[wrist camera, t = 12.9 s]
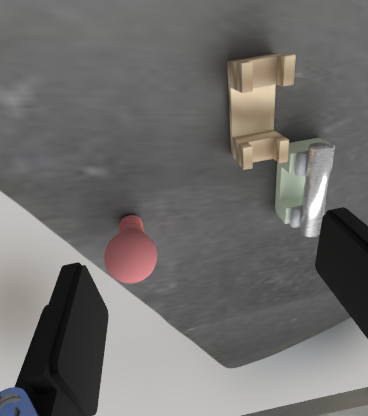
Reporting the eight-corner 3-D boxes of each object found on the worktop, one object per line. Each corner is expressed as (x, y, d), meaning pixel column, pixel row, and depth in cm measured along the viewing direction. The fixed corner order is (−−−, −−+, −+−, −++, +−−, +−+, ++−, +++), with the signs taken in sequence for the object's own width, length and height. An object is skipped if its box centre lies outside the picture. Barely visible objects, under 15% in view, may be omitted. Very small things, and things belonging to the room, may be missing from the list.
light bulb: (160, 232, 46) (165, 285, 36) (120, 244, 46) (114, 300, 36) (146, 198, 42) (147, 246, 32) (103, 211, 43) (91, 263, 32)
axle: (304, 145, 36) (318, 152, 34) (324, 140, 37) (339, 147, 34) (295, 227, 44) (306, 238, 41) (312, 223, 44) (323, 234, 42)
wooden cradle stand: (227, 61, 34) (241, 63, 29) (273, 53, 34) (295, 54, 29) (231, 154, 40) (243, 169, 36) (269, 147, 41) (287, 161, 36)
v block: (278, 144, 41) (295, 157, 36) (319, 137, 41) (341, 149, 36) (274, 210, 47) (289, 228, 42) (310, 204, 47) (328, 221, 43)
